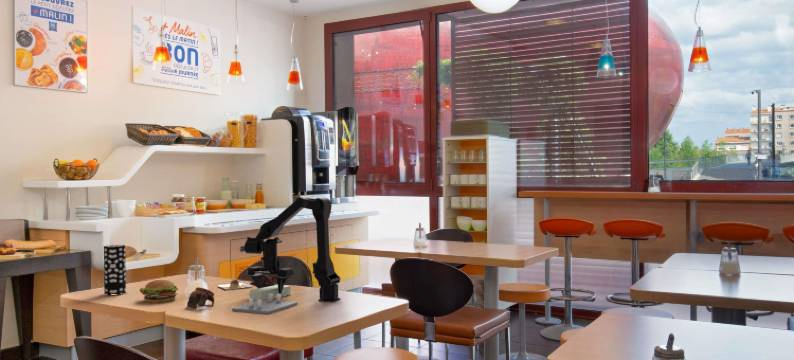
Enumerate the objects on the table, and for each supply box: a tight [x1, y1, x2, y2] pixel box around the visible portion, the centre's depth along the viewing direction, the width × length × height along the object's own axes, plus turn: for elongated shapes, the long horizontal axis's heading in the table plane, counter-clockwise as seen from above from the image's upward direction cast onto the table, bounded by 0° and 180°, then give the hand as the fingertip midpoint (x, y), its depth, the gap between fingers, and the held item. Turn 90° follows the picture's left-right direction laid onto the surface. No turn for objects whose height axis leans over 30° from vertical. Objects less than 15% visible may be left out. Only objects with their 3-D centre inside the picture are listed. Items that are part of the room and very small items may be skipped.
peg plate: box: [231, 294, 298, 315], centre depth 246 cm, size 16×18×4 cm
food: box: [139, 279, 179, 303], centre depth 264 cm, size 14×14×8 cm
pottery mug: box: [186, 286, 215, 310], centre depth 249 cm, size 12×10×8 cm
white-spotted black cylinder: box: [103, 244, 127, 296], centre depth 279 cm, size 8×8×20 cm
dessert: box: [216, 277, 253, 291], centre depth 293 cm, size 12×12×5 cm
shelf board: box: [249, 284, 292, 301], centre depth 268 cm, size 6×16×4 cm, turn 145°
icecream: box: [249, 274, 278, 288], centre depth 284 cm, size 7×7×15 cm
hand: (270, 293), depth 268 cm, fingers open, 9 cm apart
